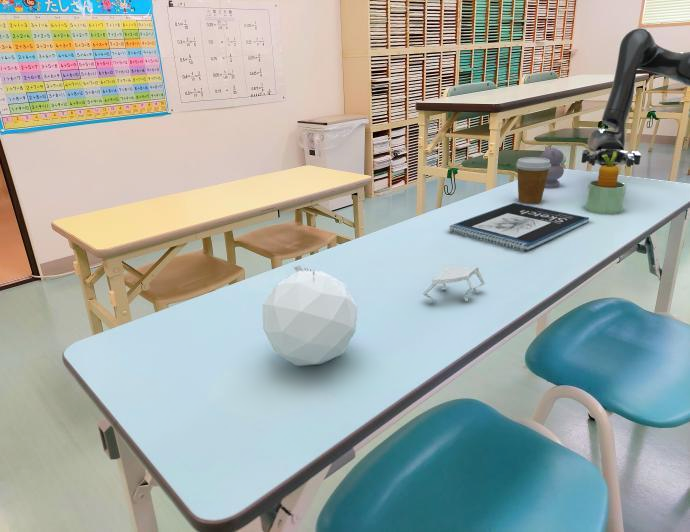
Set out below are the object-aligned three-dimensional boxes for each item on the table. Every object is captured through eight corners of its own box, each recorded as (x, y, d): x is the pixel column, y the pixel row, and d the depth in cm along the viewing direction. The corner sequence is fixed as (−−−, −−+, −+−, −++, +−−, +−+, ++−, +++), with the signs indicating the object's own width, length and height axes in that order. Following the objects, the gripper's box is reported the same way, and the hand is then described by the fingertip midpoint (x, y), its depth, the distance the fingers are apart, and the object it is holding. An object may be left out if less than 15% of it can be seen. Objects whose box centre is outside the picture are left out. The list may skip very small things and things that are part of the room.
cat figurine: (566, 188, 164) (571, 149, 159) (541, 189, 164) (545, 150, 159) (555, 181, 172) (560, 145, 167) (531, 182, 172) (535, 146, 167)
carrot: (597, 210, 139) (606, 154, 134) (590, 205, 144) (598, 150, 138) (616, 209, 139) (625, 153, 133) (608, 204, 144) (617, 149, 138)
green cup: (615, 204, 145) (619, 180, 142) (626, 214, 137) (631, 188, 134) (581, 204, 146) (585, 180, 144) (590, 213, 138) (594, 188, 136)
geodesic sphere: (237, 307, 82) (250, 256, 71) (317, 285, 89) (340, 235, 77) (274, 393, 76) (295, 352, 65) (356, 362, 83) (388, 320, 71)
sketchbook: (588, 222, 132) (589, 214, 131) (525, 254, 114) (526, 245, 113) (513, 206, 147) (514, 199, 146) (446, 232, 129) (447, 224, 128)
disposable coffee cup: (514, 196, 157) (517, 156, 153) (547, 197, 154) (552, 157, 150) (511, 204, 149) (514, 162, 145) (546, 206, 146) (551, 164, 141)
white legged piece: (449, 281, 102) (450, 258, 100) (486, 293, 97) (488, 268, 95) (410, 301, 95) (411, 277, 93) (449, 316, 89) (450, 290, 87)
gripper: (583, 137, 151) (583, 147, 137) (638, 138, 146) (644, 148, 132) (580, 163, 154) (580, 175, 140) (634, 165, 149) (639, 177, 135)
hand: (611, 162), depth 136 cm, fingers open, 8 cm apart
